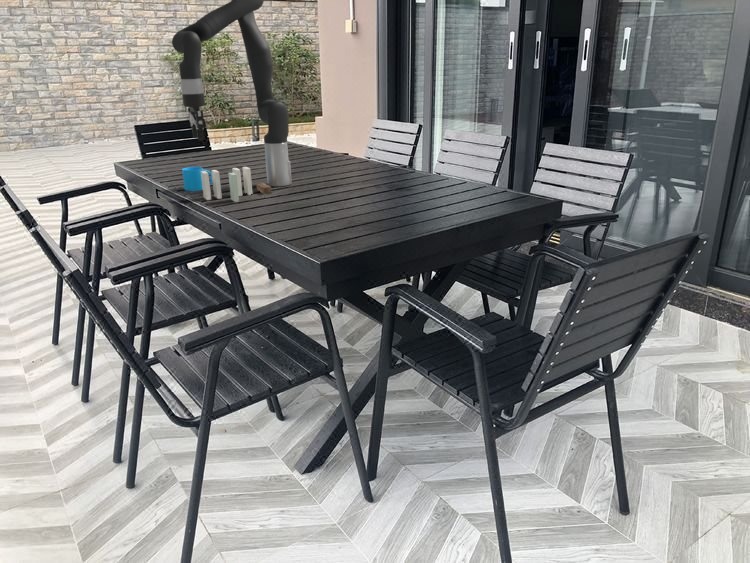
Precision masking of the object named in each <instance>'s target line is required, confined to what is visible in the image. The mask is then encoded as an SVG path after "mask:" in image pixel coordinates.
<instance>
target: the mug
mask: <svg viewBox="0 0 750 563" xmlns="http://www.w3.org/2000/svg"><path fill="white" fill-rule="evenodd" d="M181 170H182V171H181V173H182V180H183V187H184V191H186V192H189V191H190V192H195V191H196V192H197V191H203V187H202V178H201V171H206V172H208V175H209V177H210V179H209V184H210V185H211V184H213V180H212V171H211V170H208V169H204V168H203V167H201V166H191V167H190V166H189V167H185V168H182V169H181Z"/></svg>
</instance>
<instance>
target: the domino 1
mask: <svg viewBox="0 0 750 563" xmlns="http://www.w3.org/2000/svg"><path fill="white" fill-rule="evenodd" d="M201 178H202V187H203V190H202V193H203V198H204V200H206V201H210V200H211V201H212V192H211V184H209V182H210V174H209V173H208V172H206V171H201Z"/></svg>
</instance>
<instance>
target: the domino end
mask: <svg viewBox="0 0 750 563" xmlns="http://www.w3.org/2000/svg"><path fill="white" fill-rule="evenodd" d="M251 171H252V170H251V168H250V167H248V166H242V175H243V176H242V178H243V188H244V189H243V190H244V193H245V194H246V193H247V194H246V195H248V196H251V194H254V193H253V182H252V172H251Z"/></svg>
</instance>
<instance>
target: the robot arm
mask: <svg viewBox="0 0 750 563" xmlns="http://www.w3.org/2000/svg"><path fill="white" fill-rule="evenodd" d="M264 2H265V0H231V1H228V2H227V3H225V4H223V5H221V6H220V7H217V8H215V9H213V10H212V11H209V12H208V13H206V14H204V15H203V16H202V17H200V18H199V19H198V20H197V21H195V22H194V23H192V24H189V25H188V26H185V27H184V28H182V29H180V30H179V31H177V32H176V33H175V34H174V35H173V36H172V39H171V43H172V44H171V45H172V47H173V49H174V50H175V51H176V52H177V53H179V54H183V59H182V61H181V62H179V76H180V88H181V95H182V96H181V97H182V104H183V107H186V108H188V109H187V111H188V119H189V125H190V127H191V129H192V130H191V131H192V137H193V138H194V139H197V140H198V141H205V132H204V129H205V128H206V126H205V125H206V124H205V118H204V111H203V110H201V107H205V106H206V98H205V90H204V84H203V80H202V72H201V71H202V70H201V60H202V58H201V57H202V43H203V42H207V41H209V40H211V39H212V38H213V37H215V36H216V35H217V34H219V33H220V32H222V31H223V30H225V29H226V28H227V27H228V26H230V25H231V24H232V23H234V22H236V21H237V22H238V25H239V29H240V33H241V37H242V41H243V44H244V49H245V53H246V54H245V55H246V58H247V63H248V67H249V71H250V75H251V79H252V83H253V87H254V93H255V99H256V106H257V107H256V108H257V113H258V116H259V119H260V120H261V122H263V123H264V124H266V125H268V126H267V128H268V129H267V133H266V134H264V136H263V142H264V145H263V146H264V157H265V168H266V181H267V185H268V186H270V187H285V186H288V185H293V184H292V168H291V161H290V160H289V149H288V137H289V132H290V130H289V111H288V108H287V106H286V104H284V102H282V101H277V100H275V97H274V93H273V88H272V80H273V73H274V61H273V56H272V52H271V48H270V45H269V44H268V41H267V39H266V38H265V37H264V35H263V33H262V31H261V30H260V29H259V26H258V25H257V22H256V17H255V13H254V12H255V11H257V10H259V9H260V8H261V7H262V6H263V5H264Z"/></svg>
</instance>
